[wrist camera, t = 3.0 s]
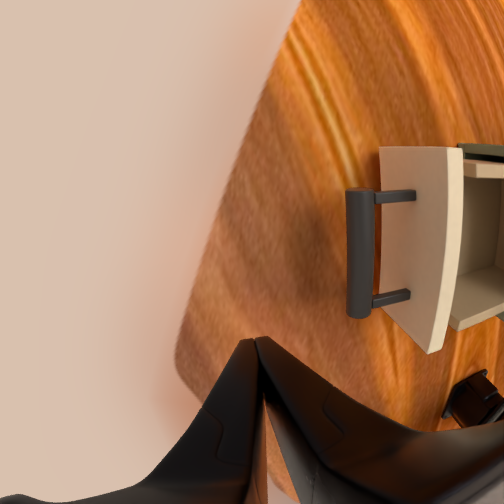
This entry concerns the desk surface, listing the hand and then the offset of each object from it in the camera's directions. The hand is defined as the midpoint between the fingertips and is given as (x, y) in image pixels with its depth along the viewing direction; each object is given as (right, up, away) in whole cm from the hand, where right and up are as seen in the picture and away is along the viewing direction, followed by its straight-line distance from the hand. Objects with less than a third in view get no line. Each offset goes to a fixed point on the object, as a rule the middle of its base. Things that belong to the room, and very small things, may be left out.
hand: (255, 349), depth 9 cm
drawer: (+13, +5, +11) cm, 18 cm away
